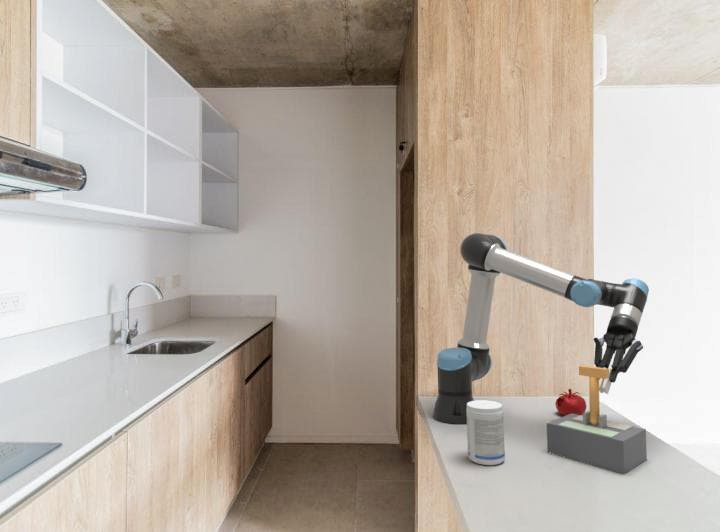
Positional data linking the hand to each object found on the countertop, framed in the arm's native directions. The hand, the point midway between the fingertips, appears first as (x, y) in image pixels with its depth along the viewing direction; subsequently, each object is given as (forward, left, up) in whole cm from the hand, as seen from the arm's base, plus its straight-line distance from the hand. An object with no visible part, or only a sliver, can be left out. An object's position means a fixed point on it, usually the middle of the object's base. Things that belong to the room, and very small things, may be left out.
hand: (602, 390), depth 130 cm
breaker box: (-1, -3, -17) cm, 18 cm away
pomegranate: (-24, +29, -18) cm, 42 cm away
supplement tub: (-19, -27, -18) cm, 37 cm away
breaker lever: (-1, -3, -9) cm, 9 cm away
